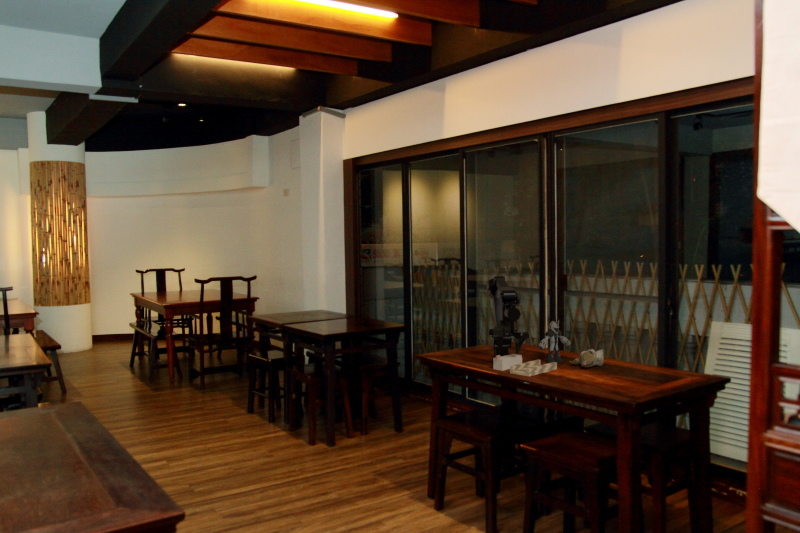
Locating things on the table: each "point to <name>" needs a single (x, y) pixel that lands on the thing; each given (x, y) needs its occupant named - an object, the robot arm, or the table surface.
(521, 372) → the cradle
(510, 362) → the white bar with tab
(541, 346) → the robot
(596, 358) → the ceramic sculpture
